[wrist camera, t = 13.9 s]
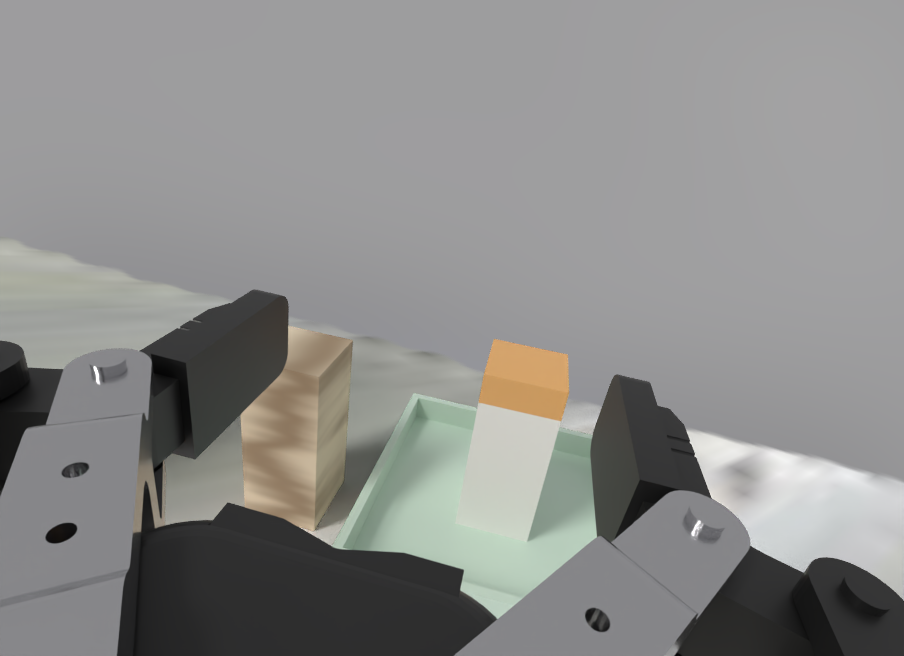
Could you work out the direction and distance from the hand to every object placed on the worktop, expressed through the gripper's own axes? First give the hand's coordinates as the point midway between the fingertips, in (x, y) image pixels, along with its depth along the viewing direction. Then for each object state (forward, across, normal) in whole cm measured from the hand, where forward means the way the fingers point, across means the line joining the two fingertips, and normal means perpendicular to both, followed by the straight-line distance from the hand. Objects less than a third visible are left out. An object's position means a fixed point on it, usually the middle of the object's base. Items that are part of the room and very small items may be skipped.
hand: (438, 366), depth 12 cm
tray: (+17, -4, +22) cm, 28 cm away
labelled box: (+17, -3, +21) cm, 27 cm away
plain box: (+14, +10, +22) cm, 28 cm away
